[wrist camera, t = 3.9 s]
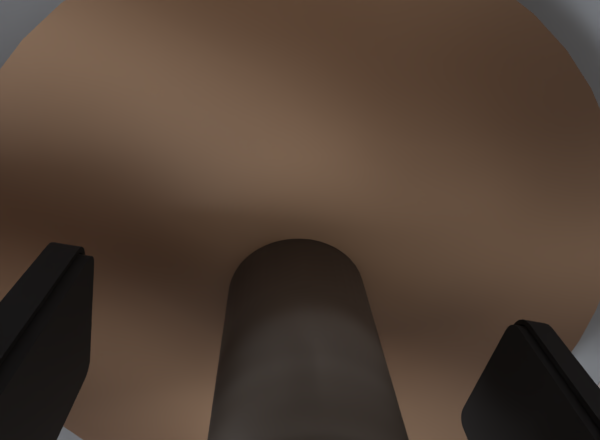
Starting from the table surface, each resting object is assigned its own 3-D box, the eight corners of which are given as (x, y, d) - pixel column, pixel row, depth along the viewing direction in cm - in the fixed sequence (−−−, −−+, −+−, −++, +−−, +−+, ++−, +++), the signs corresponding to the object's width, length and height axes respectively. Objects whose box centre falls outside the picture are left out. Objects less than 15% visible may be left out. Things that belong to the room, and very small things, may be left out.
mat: (-224, -430, 7) (-280, -477, 6) (870, -64, 10) (916, -67, 9) (-67, 457, 16) (-83, 480, 15) (485, 511, 19) (493, 532, 18)
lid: (-57, -177, 8) (-793, -514, 2) (723, 34, 10) (1253, 102, 5) (-1, 439, 14) (-164, 714, 9) (459, 485, 16) (549, 729, 11)
